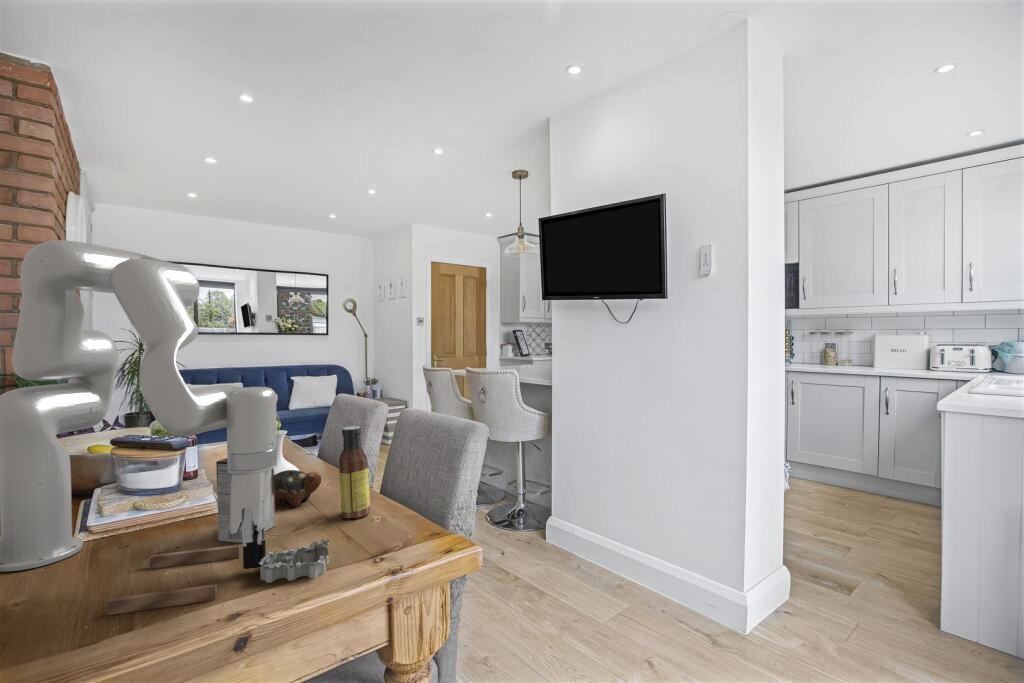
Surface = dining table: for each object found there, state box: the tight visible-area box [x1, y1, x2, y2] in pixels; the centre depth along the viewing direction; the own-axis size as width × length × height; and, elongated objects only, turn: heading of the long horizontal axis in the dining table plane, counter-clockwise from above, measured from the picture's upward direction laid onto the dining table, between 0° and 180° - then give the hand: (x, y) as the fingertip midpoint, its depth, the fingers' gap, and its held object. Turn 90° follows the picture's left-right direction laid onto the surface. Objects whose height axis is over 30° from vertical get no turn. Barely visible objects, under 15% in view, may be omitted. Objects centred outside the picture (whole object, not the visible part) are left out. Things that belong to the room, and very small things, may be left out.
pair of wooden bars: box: [106, 544, 241, 616], centre depth 82 cm, size 14×16×2 cm
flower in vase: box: [274, 392, 300, 475], centre depth 137 cm, size 13×11×25 cm
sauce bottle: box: [338, 425, 371, 519], centre depth 112 cm, size 6×6×20 cm
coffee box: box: [215, 457, 276, 544], centre depth 102 cm, size 9×6×16 cm
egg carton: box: [259, 539, 330, 584], centre depth 86 cm, size 11×8×4 cm
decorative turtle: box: [274, 470, 322, 508], centre depth 120 cm, size 10×15×8 cm, turn 89°
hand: (254, 565), depth 85 cm, fingers closed
